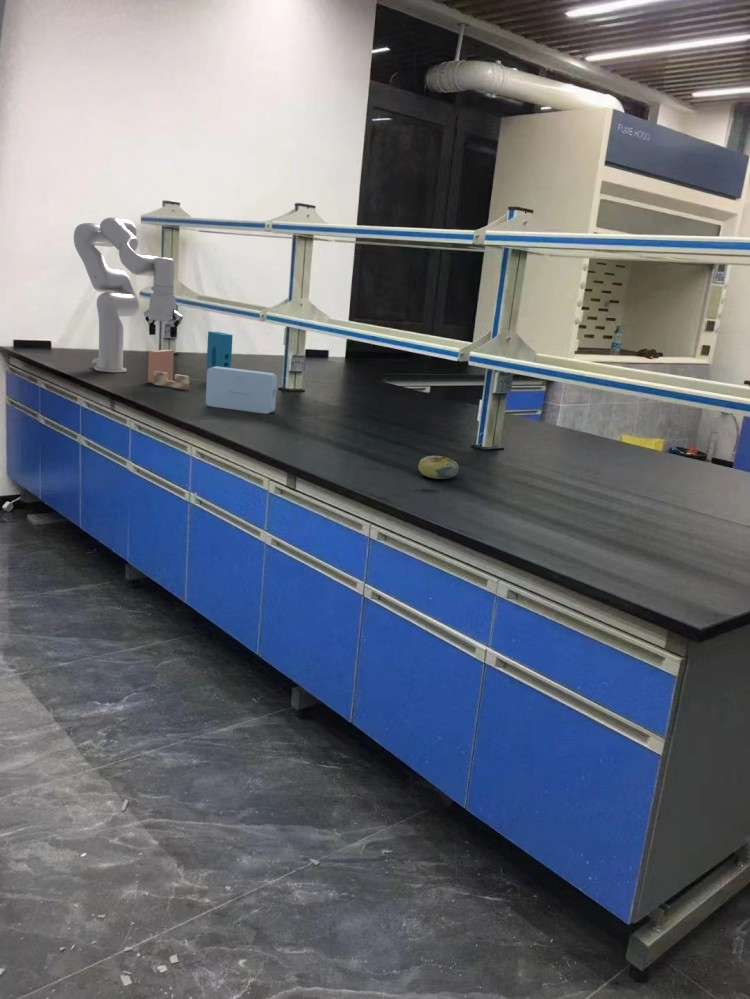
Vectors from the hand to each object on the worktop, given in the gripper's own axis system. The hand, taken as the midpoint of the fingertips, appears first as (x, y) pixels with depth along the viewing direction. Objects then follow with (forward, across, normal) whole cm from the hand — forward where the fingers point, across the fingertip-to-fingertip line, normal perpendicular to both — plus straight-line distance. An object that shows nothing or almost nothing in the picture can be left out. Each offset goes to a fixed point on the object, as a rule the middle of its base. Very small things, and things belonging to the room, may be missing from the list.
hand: (162, 335), depth 331 cm
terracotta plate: (+18, -1, 0) cm, 18 cm away
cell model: (+21, +138, -73) cm, 158 cm away
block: (+18, +14, +18) cm, 29 cm away
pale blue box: (+19, +52, -28) cm, 62 cm away
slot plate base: (+18, +10, -8) cm, 22 cm away
